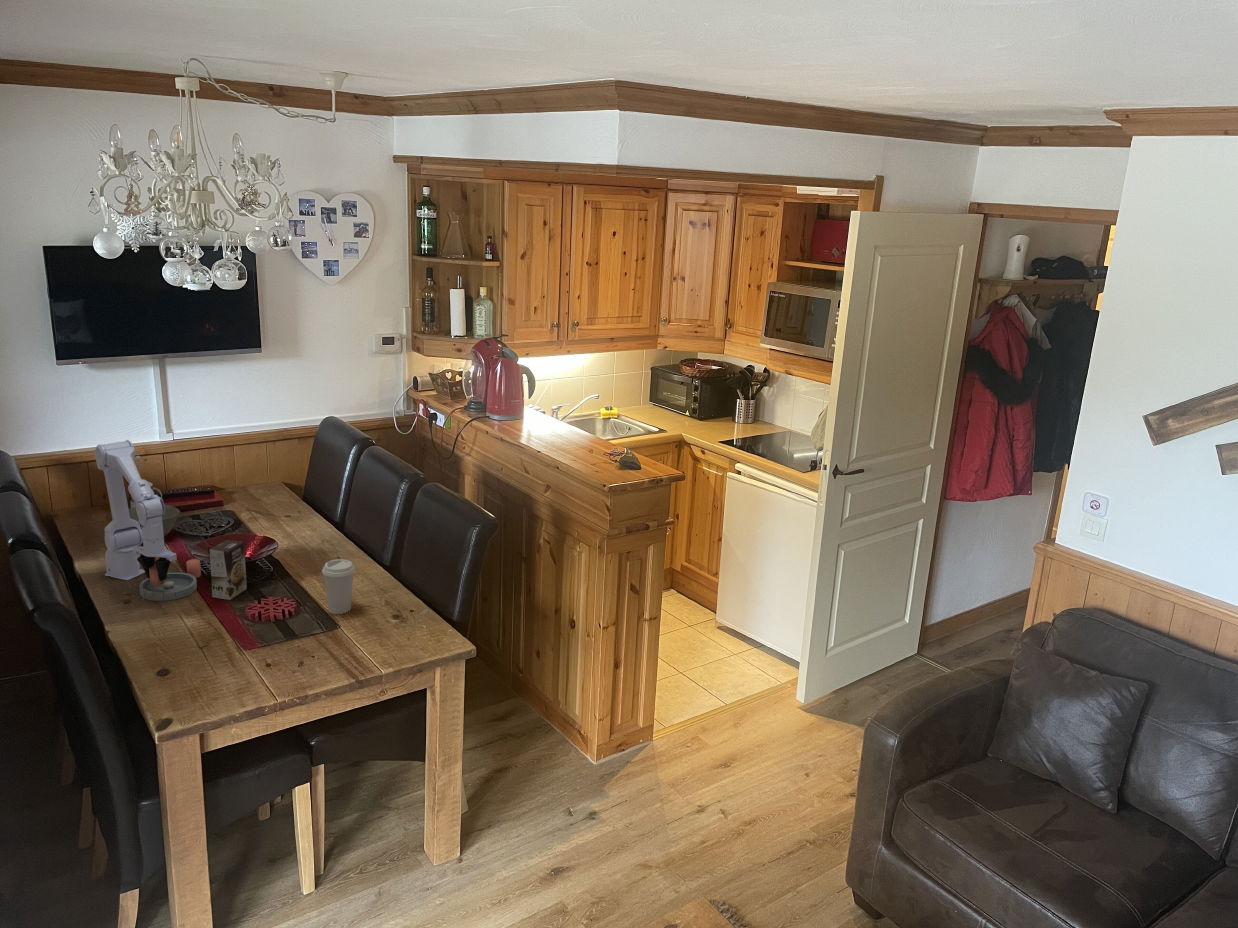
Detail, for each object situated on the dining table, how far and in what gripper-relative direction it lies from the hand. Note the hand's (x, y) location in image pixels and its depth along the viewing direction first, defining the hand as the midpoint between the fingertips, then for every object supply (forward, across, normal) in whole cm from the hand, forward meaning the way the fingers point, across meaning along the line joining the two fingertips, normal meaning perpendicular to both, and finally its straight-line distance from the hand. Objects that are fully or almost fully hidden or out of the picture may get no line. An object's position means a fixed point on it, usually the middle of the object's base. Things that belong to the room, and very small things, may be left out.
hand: (156, 578), depth 280 cm
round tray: (+6, 0, -4) cm, 7 cm away
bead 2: (+6, +1, -16) cm, 17 cm away
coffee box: (+6, -18, -10) cm, 22 cm away
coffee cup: (+6, -55, -14) cm, 57 cm away
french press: (+6, +52, -49) cm, 72 cm away
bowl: (+6, +36, -35) cm, 51 cm away
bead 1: (+1, 0, 0) cm, 1 cm away
